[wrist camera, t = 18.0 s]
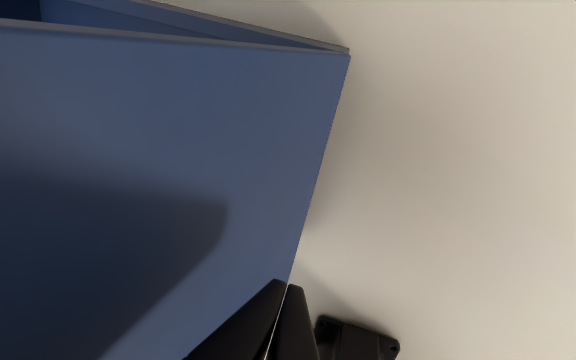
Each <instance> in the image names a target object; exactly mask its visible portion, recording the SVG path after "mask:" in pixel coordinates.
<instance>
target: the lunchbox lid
mask: <svg viewBox="0 0 576 360" xmlns="http://www.w3.org/2000/svg"><path fill="white" fill-rule="evenodd" d="M350 58H351V56H350V55H348V54H344V53H341V52H337V51H327V50H317V49H307V48H297V47H287V46H277V45H267V44H257V43H247V42H236V41H226V40H216V39H206V38H196V37H186V36H176V35H166V34H156V33H146V32H136V31H126V30H116V29H105V28H95V27H85V26H75V25H65V24H55V23H45V22H35V21H25V20H15V19H5V18H0V360H182V359H183V358H184V357H187V355H188V354H189V353H190V352H191V351H192V350H193V349H194V348H195V347H197V346H198V345H199V344H200V343H201V342H202V341H203V340H204V339H206V338H207V337H208V336H209V335H210V334H211V333H212V332H213V331H215V330H216V329H217V328H218V327H219V326H220V325H221V324H222V323H224V322H225V321H226V320H227V319H228V318H229V317H230V316H231V315H233V314H234V313H235V312H236V311H237V310H238V309H239V308H241V307H242V306H243V305H244V304H245V303H246V302H247V301H248V300H250V299H251V298H252V297H253V296H254V295H255V294H256V293H257V292H259V291H260V290H261V289H262V288H263V287H264V286H265V285H266V284H268V283H269V282H270V281H271V280H272V279H274V278H276V279H279V280H282V281H285V282H286V283H288V279H289V276H290V272H291V269H292V265H293V262H294V258H295V254H296V251H297V247H298V244H299V240H300V237H301V233H302V230H303V226H304V222H305V219H306V215H307V212H308V208H309V205H310V201H311V197H312V194H313V190H314V187H315V183H316V180H317V176H318V172H319V169H320V165H321V162H322V158H323V155H324V151H325V148H326V144H327V140H328V137H329V133H330V130H331V126H332V123H333V119H334V115H335V112H336V108H337V105H338V101H339V98H340V94H341V90H342V87H343V83H344V80H345V76H346V73H347V69H348V66H349V62H350Z"/></svg>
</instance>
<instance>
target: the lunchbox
mask: <svg viewBox="0 0 576 360" xmlns="http://www.w3.org/2000/svg"><path fill="white" fill-rule="evenodd" d="M0 18H5V19H15V20H25V21H35V22H45V23H55V24H65V25H75V26H85V27H95V28H105V29H116V30H126V31H136V32H146V33H156V34H166V35H176V36H186V37H196V38H206V39H216V40H226V41H236V42H247V43H257V44H267V45H277V46H287V47H297V48H307V49H317V50H327V51H337V52H341V53H344V54H349V48H346V47H342V46H338V45H333V44H329V43H325V42H321V41H317V40H313V39H308V38H304V37H300V36H296V35H292V34H288V33H284V32H279V31H275V30H271V29H267V28H263V27H259V26H255V25H250V24H246V23H242V22H238V21H234V20H230V19H226V18H221V17H217V16H213V15H209V14H205V13H201V12H197V11H192V10H188V9H184V8H180V7H176V6H172V5H167V4H163V3H159V2H155V1H151V0H0Z"/></svg>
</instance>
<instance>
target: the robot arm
mask: <svg viewBox="0 0 576 360" xmlns="http://www.w3.org/2000/svg"><path fill="white" fill-rule="evenodd" d="M286 287H287V283H286V282H285V281H282V280H279V279H276V278H274V279H272V280H271V281H270V282H269V283H268V284H266V285H265V286H264V287H263V288H262V289H261V290H260V291H259V292H257V293H256V294H255V295H254V296H253V297H252V298H251V299H250V300H248V301H247V302H246V303H245V304H244V305H243V306H242V307H241V308H239V309H238V310H237V311H236V312H235V313H234V314H233V315H231V316H230V317H229V318H228V319H227V320H226V321H225V322H224V323H222V324H221V325H220V326H219V327H218V328H217V329H216V330H215V331H213V332H212V333H211V334H210V335H209V336H208V337H207V338H206V339H204V340H203V341H202V342H201V343H200V344H199V345H198V346H197V347H195V348H194V349H193V350H192V351H191V352H190V353H189V354H188V355H187V357H184V358H183V359H182V360H264V358H265V355H266V352H267V349H268V346H269V342H270V339H271V336H272V333H273V330H274V326H275V323H276V320H277V317H278V314H279V317H278V320H277V323H276V326H275V330H274V333H273V336H272V339H271V343H270V346H269V349H268V353H267V356H266V360H395V358H396V357H397V355H398V353H399V351H400V343H399V342H398V341H397V340H395V339H392V338H389V337H386V336H383V335H380V334H377V333H374V332H371V331H368V330H365V329H362V328H359V327H356V326H353V325H350V324H347V323H344V322H341V321H338V320H335V319H332V318H329V317H326V316H319V317H318V318H317V320H316V323H315V326H314V328H312V324H311V320H310V315H309V311H308V307H307V303H306V298H305V294H304V290H303V288H302V287H300V286H297V285H294V284H289V285H288V288H287V291H286ZM285 291H286V294H285ZM284 294H285V297H284ZM283 297H284V300H283ZM282 301H283V304H282ZM281 304H282V307H281ZM280 307H281V310H280ZM279 310H280V313H279ZM322 322H324V323H322Z"/></svg>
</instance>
